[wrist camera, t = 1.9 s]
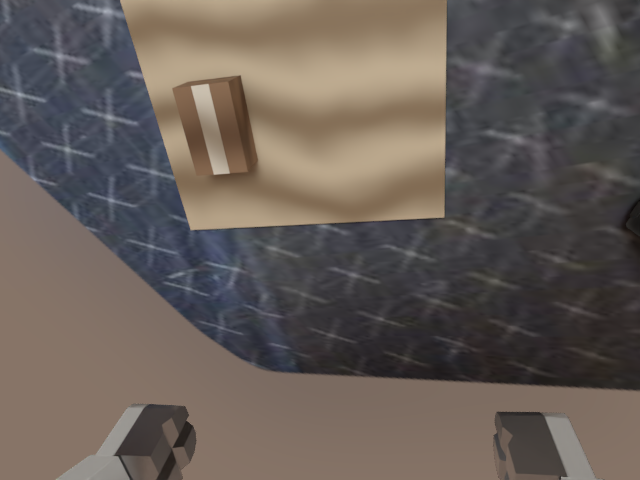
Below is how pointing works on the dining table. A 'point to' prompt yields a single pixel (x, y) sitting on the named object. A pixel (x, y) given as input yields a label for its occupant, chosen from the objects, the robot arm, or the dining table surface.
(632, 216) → the dark grey curved slab
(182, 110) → the brown small block
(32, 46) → the dining table surface
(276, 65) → the cork mat
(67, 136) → the dining table surface
